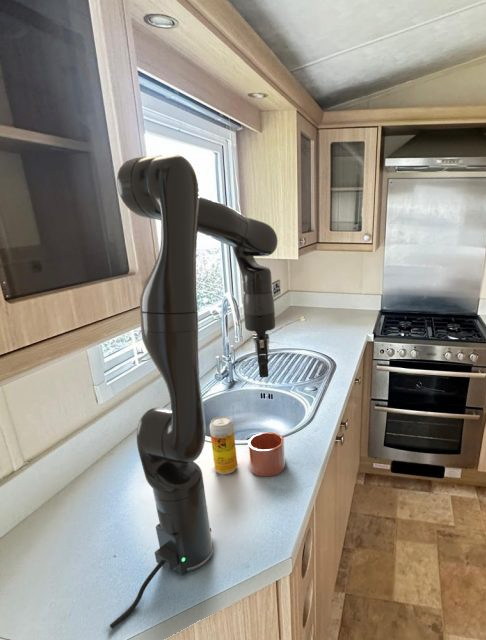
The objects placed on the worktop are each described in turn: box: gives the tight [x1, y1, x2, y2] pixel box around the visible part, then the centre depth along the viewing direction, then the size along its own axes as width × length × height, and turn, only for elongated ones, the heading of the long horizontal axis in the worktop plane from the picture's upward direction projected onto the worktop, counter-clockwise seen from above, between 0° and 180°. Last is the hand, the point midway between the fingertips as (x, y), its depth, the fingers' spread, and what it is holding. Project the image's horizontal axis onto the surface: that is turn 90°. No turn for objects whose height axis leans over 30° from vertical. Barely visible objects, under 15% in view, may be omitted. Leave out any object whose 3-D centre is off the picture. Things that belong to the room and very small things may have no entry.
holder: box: [247, 431, 286, 477], centre depth 112 cm, size 10×10×8 cm
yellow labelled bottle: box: [209, 415, 238, 475], centre depth 110 cm, size 6×6×15 cm
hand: (263, 370), depth 107 cm, fingers open, 8 cm apart
